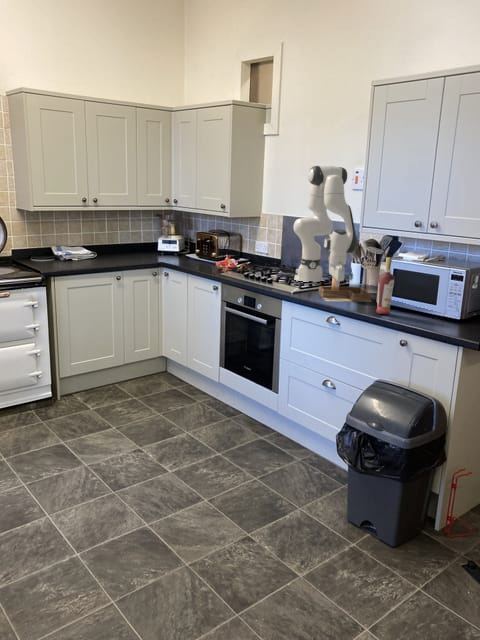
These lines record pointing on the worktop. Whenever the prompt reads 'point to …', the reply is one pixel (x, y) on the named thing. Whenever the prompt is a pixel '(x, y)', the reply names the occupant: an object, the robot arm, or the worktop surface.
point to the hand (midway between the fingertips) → (335, 285)
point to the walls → (346, 293)
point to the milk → (382, 270)
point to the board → (339, 299)
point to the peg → (334, 284)
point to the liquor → (385, 289)
